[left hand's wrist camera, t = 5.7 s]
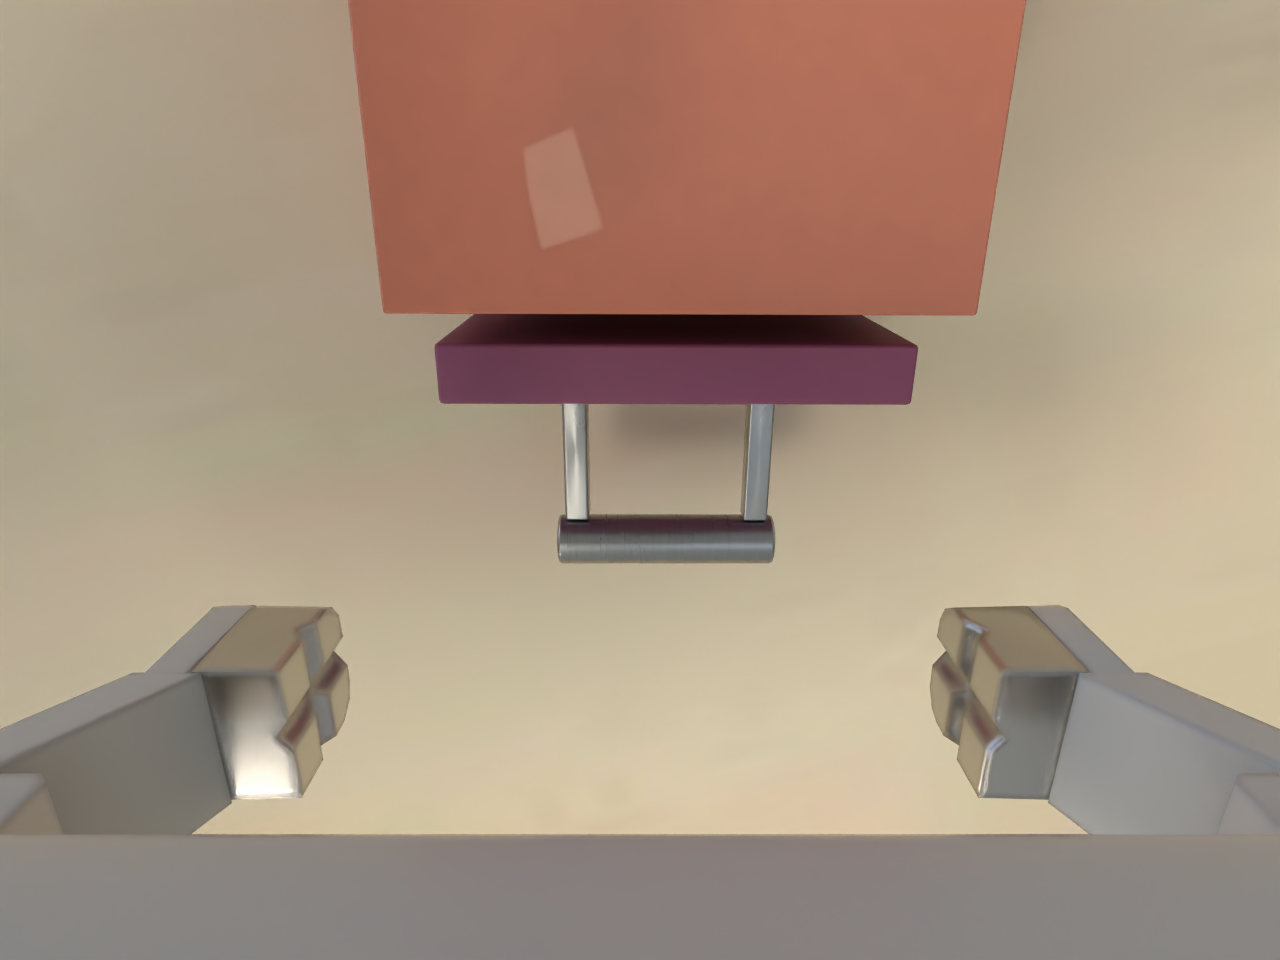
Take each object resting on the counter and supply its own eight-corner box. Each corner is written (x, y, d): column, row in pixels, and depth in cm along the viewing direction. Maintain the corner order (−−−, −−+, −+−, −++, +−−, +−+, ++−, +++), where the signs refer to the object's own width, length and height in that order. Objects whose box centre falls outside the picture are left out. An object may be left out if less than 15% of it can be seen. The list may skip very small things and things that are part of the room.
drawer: (811, 505, 24) (882, 630, 17) (508, 505, 24) (459, 630, 17) (908, -564, 15) (1120, -1146, 9) (443, -570, 15) (294, -1161, 9)
